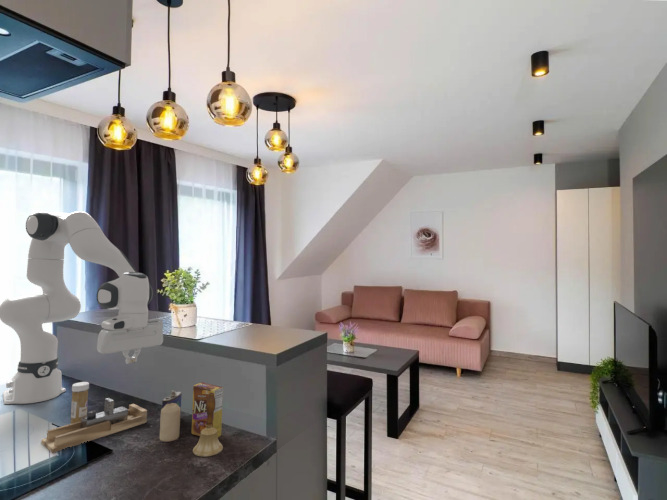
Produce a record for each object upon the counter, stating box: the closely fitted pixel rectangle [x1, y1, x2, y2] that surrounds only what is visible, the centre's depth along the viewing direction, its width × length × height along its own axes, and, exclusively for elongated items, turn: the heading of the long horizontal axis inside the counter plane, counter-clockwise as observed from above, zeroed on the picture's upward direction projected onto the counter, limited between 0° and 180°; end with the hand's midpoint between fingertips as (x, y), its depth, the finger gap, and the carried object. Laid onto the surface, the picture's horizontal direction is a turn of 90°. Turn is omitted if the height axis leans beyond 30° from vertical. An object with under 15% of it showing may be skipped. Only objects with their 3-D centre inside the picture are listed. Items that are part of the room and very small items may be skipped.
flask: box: [161, 389, 182, 419], centre depth 123 cm, size 9×3×11 cm, turn 171°
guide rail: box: [40, 403, 148, 454], centre depth 115 cm, size 9×26×4 cm, turn 144°
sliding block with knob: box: [80, 397, 129, 429], centre depth 117 cm, size 4×12×8 cm, turn 144°
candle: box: [159, 403, 182, 443], centre depth 113 cm, size 6×6×10 cm
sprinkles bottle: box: [70, 381, 90, 424], centre depth 119 cm, size 5×5×13 cm
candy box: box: [191, 381, 224, 438], centre depth 116 cm, size 9×4×15 cm, turn 65°
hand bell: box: [192, 393, 224, 458], centre depth 107 cm, size 8×8×16 cm
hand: (131, 362), depth 123 cm, fingers closed
